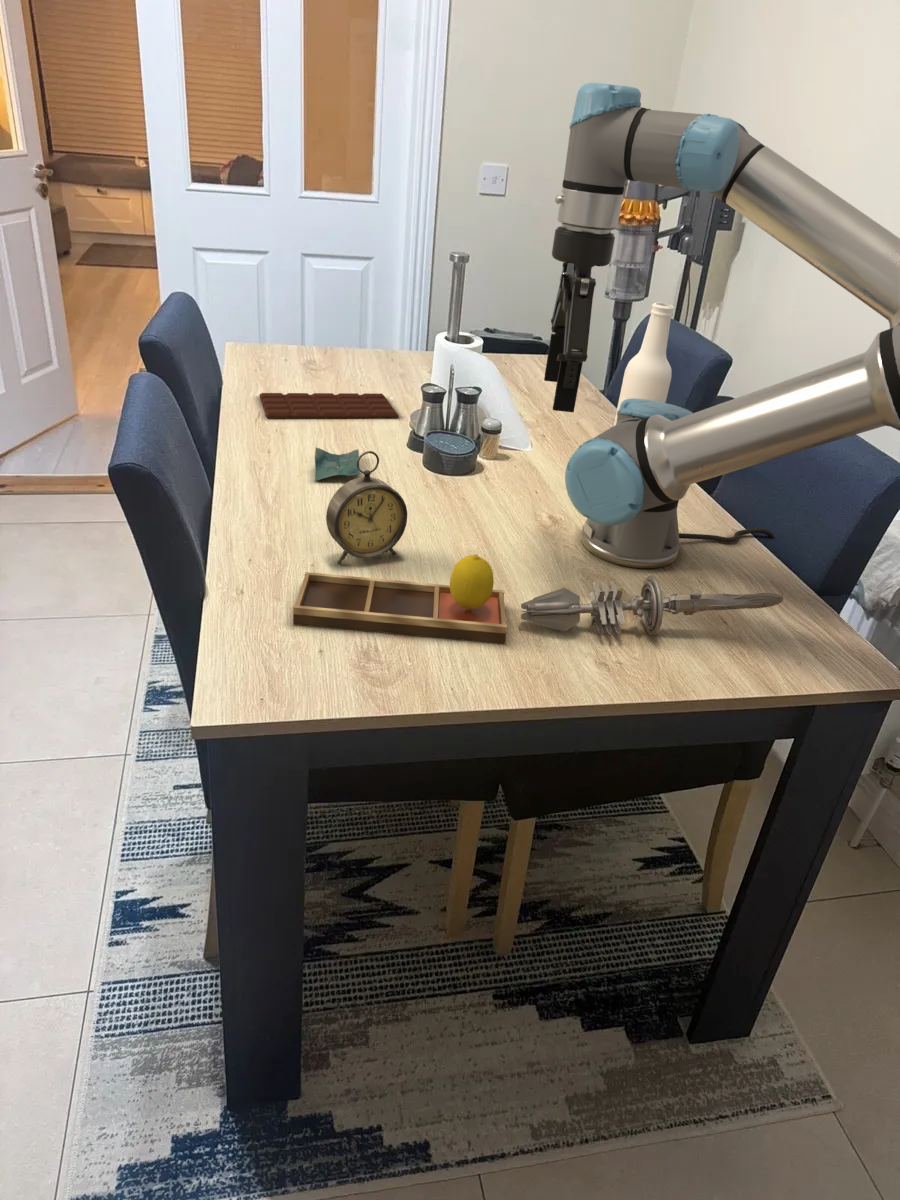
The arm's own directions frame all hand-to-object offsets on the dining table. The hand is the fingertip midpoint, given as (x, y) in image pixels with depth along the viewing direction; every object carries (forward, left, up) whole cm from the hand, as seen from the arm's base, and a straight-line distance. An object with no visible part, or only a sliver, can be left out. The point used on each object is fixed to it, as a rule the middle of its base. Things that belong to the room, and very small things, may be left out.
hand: (558, 395), depth 116 cm
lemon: (+10, +21, -23) cm, 33 cm away
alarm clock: (+25, +6, -25) cm, 36 cm away
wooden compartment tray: (+19, +21, -25) cm, 37 cm away
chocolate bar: (+39, -59, -25) cm, 75 cm away
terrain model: (+33, -26, -25) cm, 49 cm away
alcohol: (-23, -46, -25) cm, 57 cm away
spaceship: (-14, +19, -25) cm, 34 cm away
